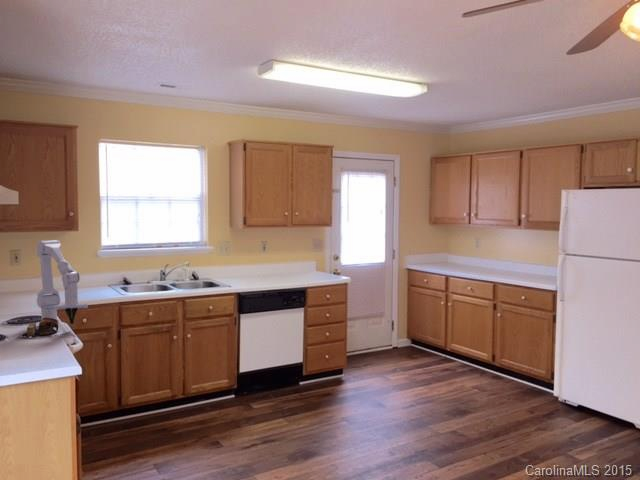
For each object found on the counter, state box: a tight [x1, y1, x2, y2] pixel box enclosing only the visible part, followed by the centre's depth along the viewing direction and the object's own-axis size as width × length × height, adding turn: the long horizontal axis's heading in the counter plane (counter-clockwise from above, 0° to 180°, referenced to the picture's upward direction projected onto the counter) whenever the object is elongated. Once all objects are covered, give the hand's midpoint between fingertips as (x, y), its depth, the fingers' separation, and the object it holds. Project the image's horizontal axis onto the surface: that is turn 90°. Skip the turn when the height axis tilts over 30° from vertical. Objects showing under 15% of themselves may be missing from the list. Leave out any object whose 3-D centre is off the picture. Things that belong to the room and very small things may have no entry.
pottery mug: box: [36, 318, 59, 335], centre depth 261 cm, size 12×10×8 cm
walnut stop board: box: [26, 322, 37, 337], centre depth 259 cm, size 12×2×4 cm, turn 22°
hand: (72, 323), depth 265 cm, fingers closed
